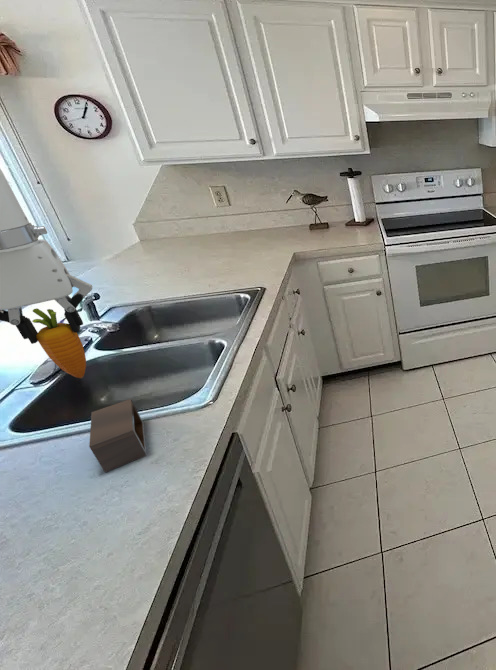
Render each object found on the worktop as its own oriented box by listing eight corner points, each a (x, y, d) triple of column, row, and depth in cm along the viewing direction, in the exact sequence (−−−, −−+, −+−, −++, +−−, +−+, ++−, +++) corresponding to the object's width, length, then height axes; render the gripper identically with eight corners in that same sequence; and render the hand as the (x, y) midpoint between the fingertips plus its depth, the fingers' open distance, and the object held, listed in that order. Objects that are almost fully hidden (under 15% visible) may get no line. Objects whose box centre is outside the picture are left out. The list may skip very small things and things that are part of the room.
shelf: (146, 455, 86) (133, 430, 83) (105, 472, 82) (89, 446, 79) (143, 422, 94) (131, 398, 91) (105, 436, 91) (91, 412, 88)
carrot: (102, 375, 79) (64, 306, 73) (67, 389, 76) (25, 318, 69) (94, 367, 82) (57, 300, 75) (60, 380, 78) (19, 310, 72)
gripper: (75, 224, 74) (117, 312, 82) (-72, 245, 65) (-8, 343, 72) (71, 233, 69) (117, 326, 77) (-89, 257, 59) (-17, 361, 67)
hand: (56, 333), depth 75 cm, fingers closed on carrot, 4 cm apart
